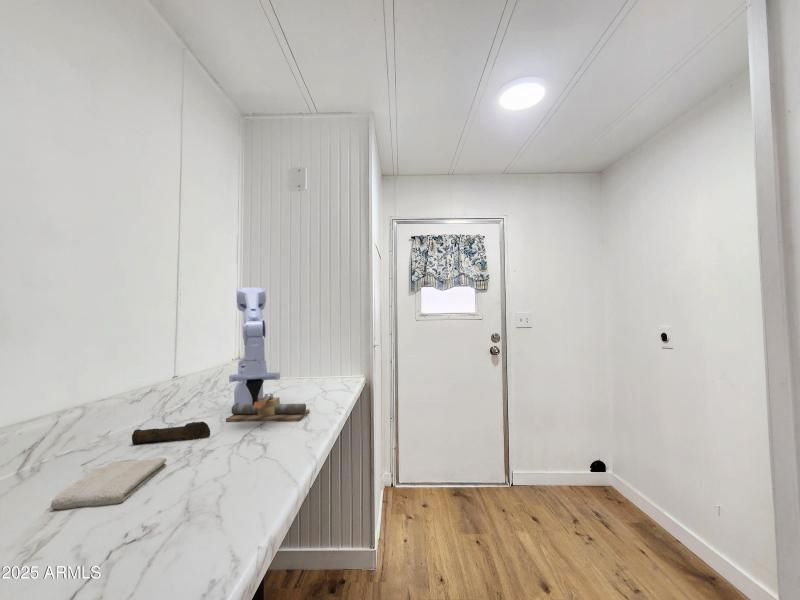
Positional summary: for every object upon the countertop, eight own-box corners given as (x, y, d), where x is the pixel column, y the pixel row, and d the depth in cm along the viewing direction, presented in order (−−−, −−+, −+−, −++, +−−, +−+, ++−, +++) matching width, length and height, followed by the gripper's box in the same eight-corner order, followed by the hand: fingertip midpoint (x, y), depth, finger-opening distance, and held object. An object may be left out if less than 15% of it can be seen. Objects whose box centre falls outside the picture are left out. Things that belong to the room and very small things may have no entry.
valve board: (225, 421, 116) (225, 402, 116) (241, 413, 126) (241, 395, 126) (299, 421, 114) (298, 401, 115) (309, 412, 124) (309, 394, 125)
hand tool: (130, 447, 97) (130, 429, 97) (138, 441, 101) (138, 424, 101) (206, 441, 99) (206, 424, 100) (211, 436, 103) (211, 420, 104)
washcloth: (169, 466, 84) (169, 452, 84) (123, 507, 66) (123, 489, 66) (112, 471, 82) (112, 457, 82) (49, 514, 64) (49, 496, 65)
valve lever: (266, 397, 122) (265, 392, 122) (273, 397, 122) (273, 392, 122) (253, 407, 109) (253, 402, 109) (262, 407, 109) (261, 401, 109)
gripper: (225, 362, 107) (225, 409, 107) (276, 360, 109) (276, 406, 108) (233, 359, 114) (233, 403, 114) (281, 357, 116) (281, 400, 115)
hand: (255, 404), depth 111 cm, fingers closed, pressing on valve lever
